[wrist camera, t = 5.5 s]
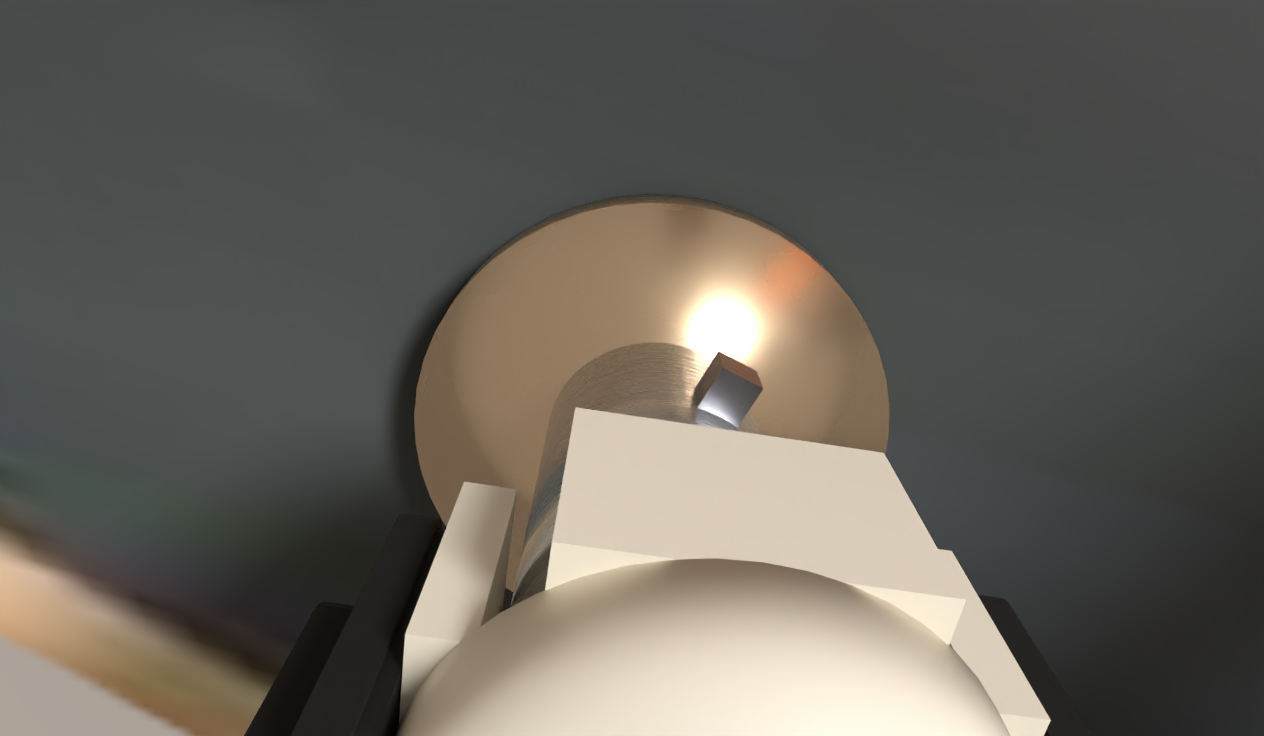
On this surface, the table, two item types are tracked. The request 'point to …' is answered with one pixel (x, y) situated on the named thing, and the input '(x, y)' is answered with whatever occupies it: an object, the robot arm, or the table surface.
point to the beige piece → (636, 351)
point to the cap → (709, 602)
